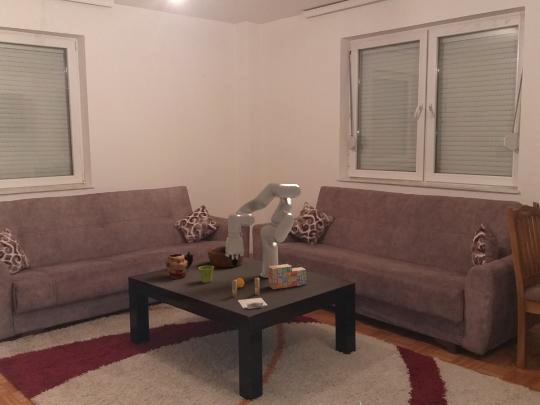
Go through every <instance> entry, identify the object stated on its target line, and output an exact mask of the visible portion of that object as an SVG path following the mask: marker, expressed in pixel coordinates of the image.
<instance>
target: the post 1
mask: <svg viewBox="0 0 540 405" xmlns="http://www.w3.org/2000/svg"><path fill="white" fill-rule="evenodd" d="M231 289H232V290H231V294H232V295H231V296H232V298H237V297H238V287H237V280H236V279H232V280H231Z"/></svg>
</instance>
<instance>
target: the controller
mask: <svg viewBox="0 0 540 405" xmlns="http://www.w3.org/2000/svg"><path fill="white" fill-rule="evenodd" d="M183 255H184V254H183ZM184 258H185V260H186V262H187V267H186V268H187V269H188V268H189V267H191V265H193V262H194V255H193V254H191V251H187V254H186V255H184ZM186 268H185V269H186Z"/></svg>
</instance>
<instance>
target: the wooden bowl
mask: <svg viewBox="0 0 540 405" xmlns="http://www.w3.org/2000/svg"><path fill="white" fill-rule="evenodd" d="M225 248H226V245H222V246H215V247H211V248H209V249H208V250H207V257H208V261H209V263H210V264H211V266H213V267H214V268H221V269H227V268H231V269H232V268H236V267H238V266H241V265H242V263H243V262H244V259H245V255H246V254H245V253H246V252H245V251H246V249H245V248H244V247H243V254H244V255H243V256H240V257H239V258H238V259H237V264H236V266H233V265H232V259H231V258H230V257H227V256H225V255H226V252H225ZM234 259H235V254H234Z"/></svg>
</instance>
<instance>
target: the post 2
mask: <svg viewBox="0 0 540 405" xmlns="http://www.w3.org/2000/svg"><path fill="white" fill-rule="evenodd" d="M260 290H261V289H260V277H254V295H255V296H260V294H261V293H260V292H261V291H260Z"/></svg>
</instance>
